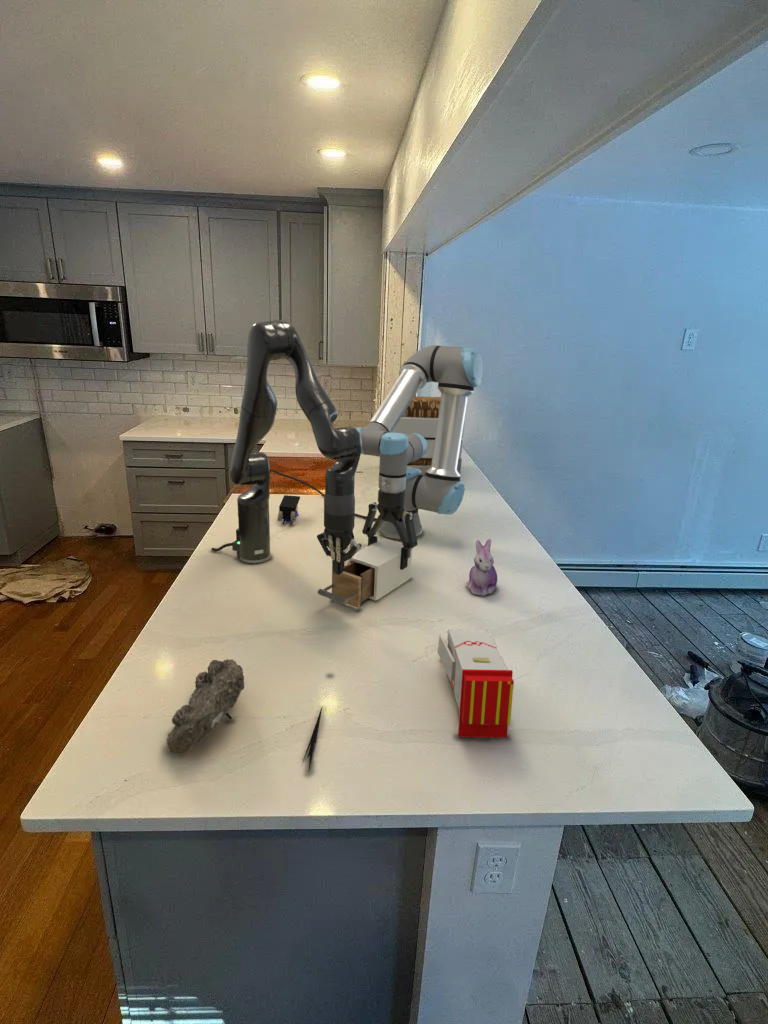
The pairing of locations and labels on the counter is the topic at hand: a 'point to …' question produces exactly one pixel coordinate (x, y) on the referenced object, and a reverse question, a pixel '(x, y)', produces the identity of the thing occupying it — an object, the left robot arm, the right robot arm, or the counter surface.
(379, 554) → the cabinet
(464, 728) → the toy
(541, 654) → the counter surface
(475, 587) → the figurine
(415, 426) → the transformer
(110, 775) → the counter surface
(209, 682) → the fossil
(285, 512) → the figurine character
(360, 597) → the drawer
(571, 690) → the counter surface
